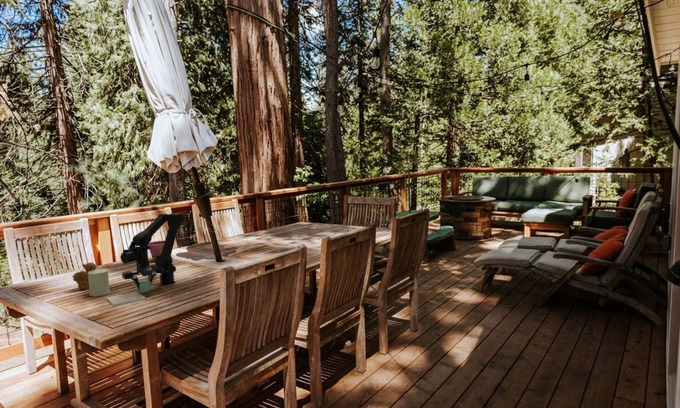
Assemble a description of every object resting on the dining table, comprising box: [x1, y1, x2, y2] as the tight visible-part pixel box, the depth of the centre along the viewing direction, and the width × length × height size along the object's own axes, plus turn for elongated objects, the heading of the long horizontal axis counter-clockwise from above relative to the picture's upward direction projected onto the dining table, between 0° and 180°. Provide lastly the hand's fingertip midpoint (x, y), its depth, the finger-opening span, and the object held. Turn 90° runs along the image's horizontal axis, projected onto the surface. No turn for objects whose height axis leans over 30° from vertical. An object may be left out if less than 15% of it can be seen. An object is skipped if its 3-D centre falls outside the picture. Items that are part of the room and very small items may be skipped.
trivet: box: [105, 290, 146, 307], centre depth 205 cm, size 14×14×1 cm
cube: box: [137, 279, 152, 294], centre depth 218 cm, size 5×5×5 cm
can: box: [88, 268, 111, 297], centre depth 215 cm, size 9×9×12 cm
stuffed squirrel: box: [71, 262, 100, 291], centre depth 225 cm, size 10×14×13 cm
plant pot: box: [148, 240, 165, 262], centre depth 285 cm, size 14×14×13 cm
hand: (144, 288), depth 218 cm, fingers closed on cube, 5 cm apart
